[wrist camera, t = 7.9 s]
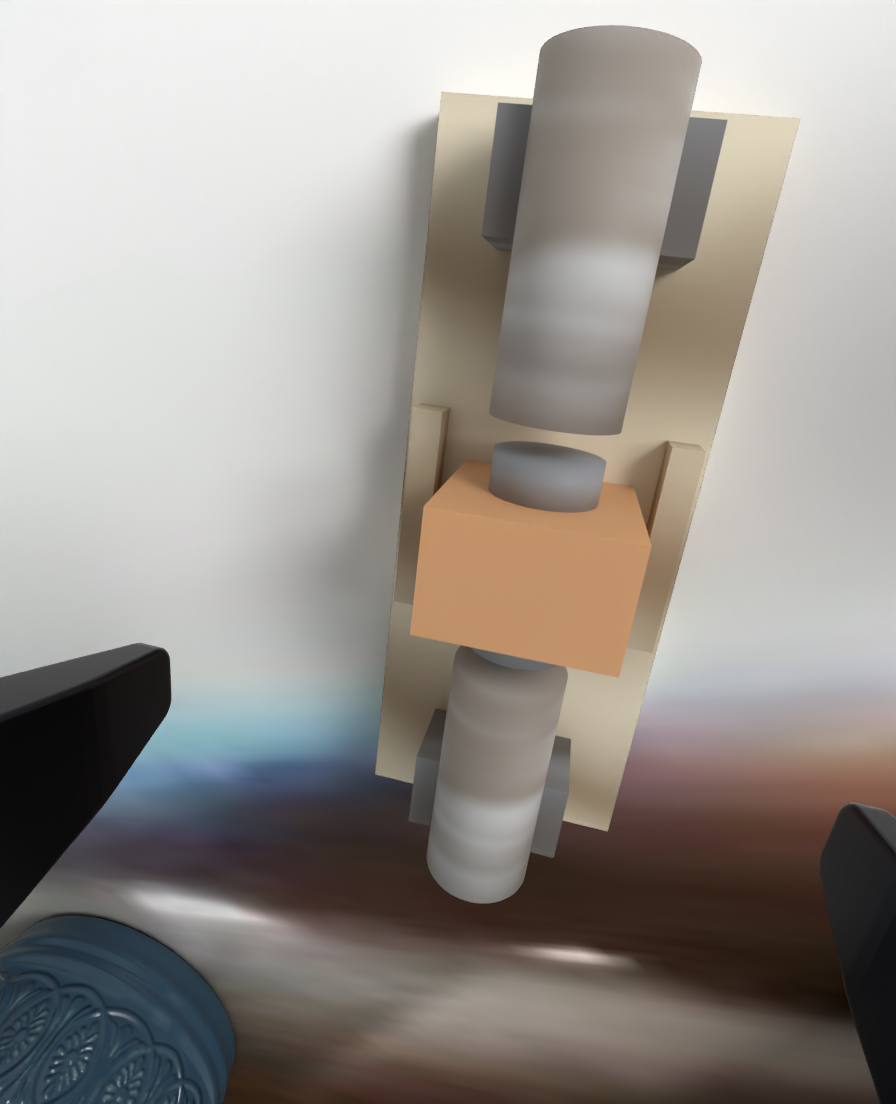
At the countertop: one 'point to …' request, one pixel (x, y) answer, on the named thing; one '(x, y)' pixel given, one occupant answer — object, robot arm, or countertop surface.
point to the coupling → (532, 560)
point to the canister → (107, 1020)
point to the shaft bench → (630, 455)
